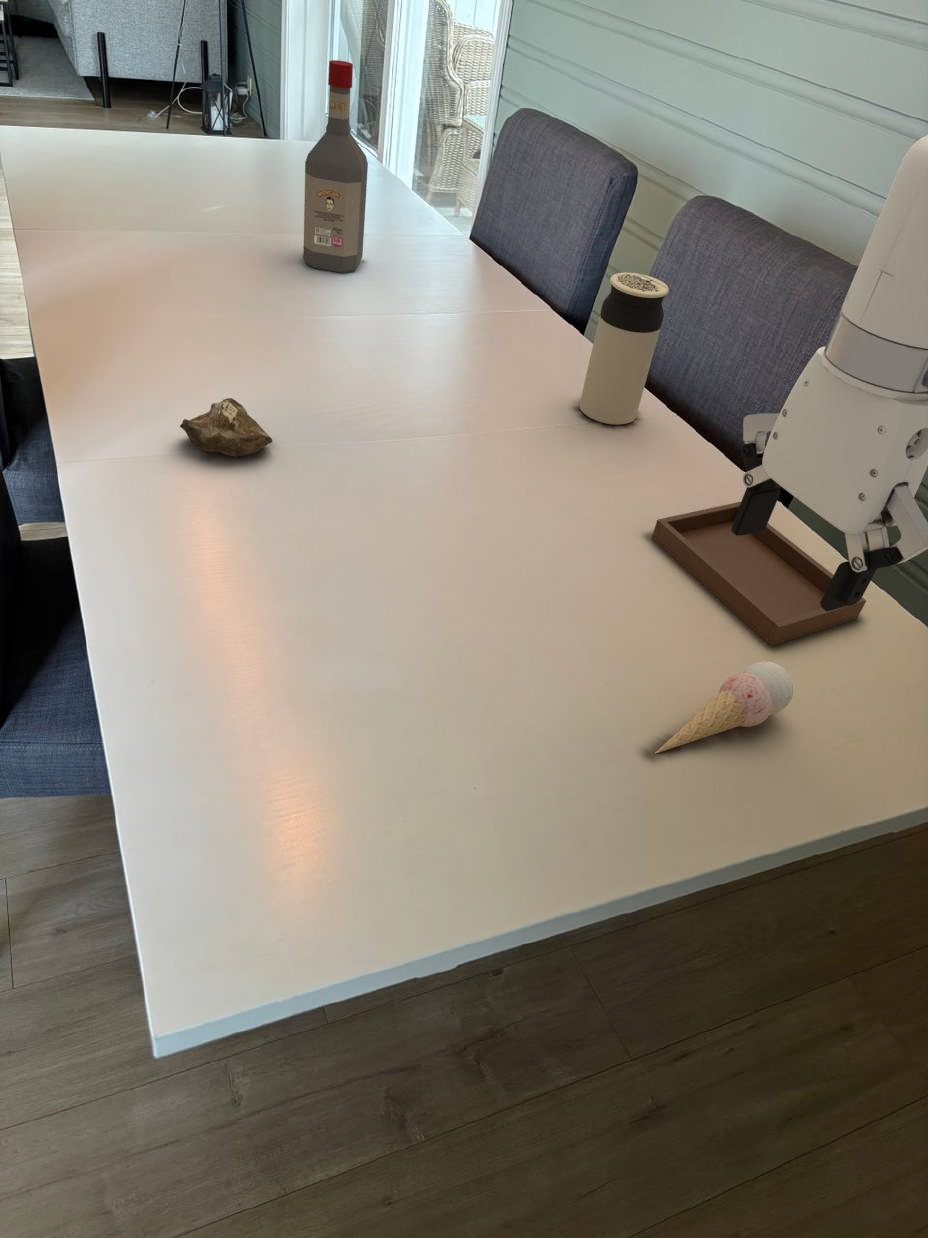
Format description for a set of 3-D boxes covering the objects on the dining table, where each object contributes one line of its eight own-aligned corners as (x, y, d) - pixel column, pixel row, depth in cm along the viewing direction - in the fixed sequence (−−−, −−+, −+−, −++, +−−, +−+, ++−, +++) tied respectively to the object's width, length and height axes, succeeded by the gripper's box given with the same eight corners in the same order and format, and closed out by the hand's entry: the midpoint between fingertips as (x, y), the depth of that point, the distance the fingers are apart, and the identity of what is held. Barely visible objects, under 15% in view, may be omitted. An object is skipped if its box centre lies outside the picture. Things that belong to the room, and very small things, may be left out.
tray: (857, 618, 96) (866, 600, 94) (770, 646, 90) (779, 627, 89) (733, 519, 108) (740, 501, 107) (651, 537, 103) (657, 519, 101)
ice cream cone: (677, 787, 76) (809, 706, 80) (665, 740, 74) (800, 660, 79) (642, 767, 80) (770, 691, 85) (630, 721, 78) (761, 647, 83)
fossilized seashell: (163, 434, 102) (241, 472, 101) (185, 378, 100) (265, 416, 100) (193, 439, 109) (266, 475, 108) (214, 387, 108) (288, 423, 107)
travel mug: (600, 429, 122) (633, 296, 110) (567, 402, 127) (596, 272, 116) (646, 422, 125) (683, 292, 114) (613, 396, 130) (645, 269, 119)
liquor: (353, 275, 154) (365, 72, 135) (300, 266, 154) (304, 62, 135) (364, 258, 161) (376, 63, 142) (313, 249, 161) (318, 53, 142)
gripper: (1040, 410, 55) (911, 627, 65) (830, 297, 65) (749, 499, 76) (961, 424, 51) (839, 650, 62) (754, 303, 62) (681, 513, 73)
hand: (789, 566), depth 69 cm, fingers open, 9 cm apart
